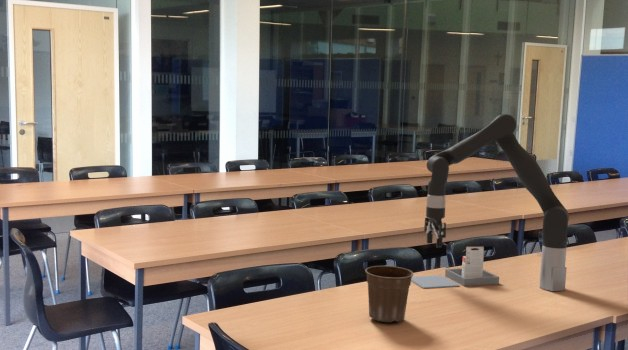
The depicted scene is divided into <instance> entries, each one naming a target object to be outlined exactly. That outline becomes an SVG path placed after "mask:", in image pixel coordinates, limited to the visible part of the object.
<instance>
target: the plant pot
mask: <svg viewBox="0 0 628 350" xmlns="http://www.w3.org/2000/svg"><path fill="white" fill-rule="evenodd" d="M365 274H366V282H367V290H368V316H369V317H370V318H371V319H372V320H375V321H378V322H381V323H393V322H397V323H398V322H401V321H403V320H404V319H405V317H406V316H405V315H406V310H407V309H406V308H407V305H408V304H407V301H408V297H409V296H408V295H409V291H410V290H409V289H410V286H411V284H412V281H411V278H412V277H414V272H413V270H410V269H408V268H404V267H401V266H400V267H399V266H395V265H374V266H369V267H367V268H366V269H365Z"/></svg>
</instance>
